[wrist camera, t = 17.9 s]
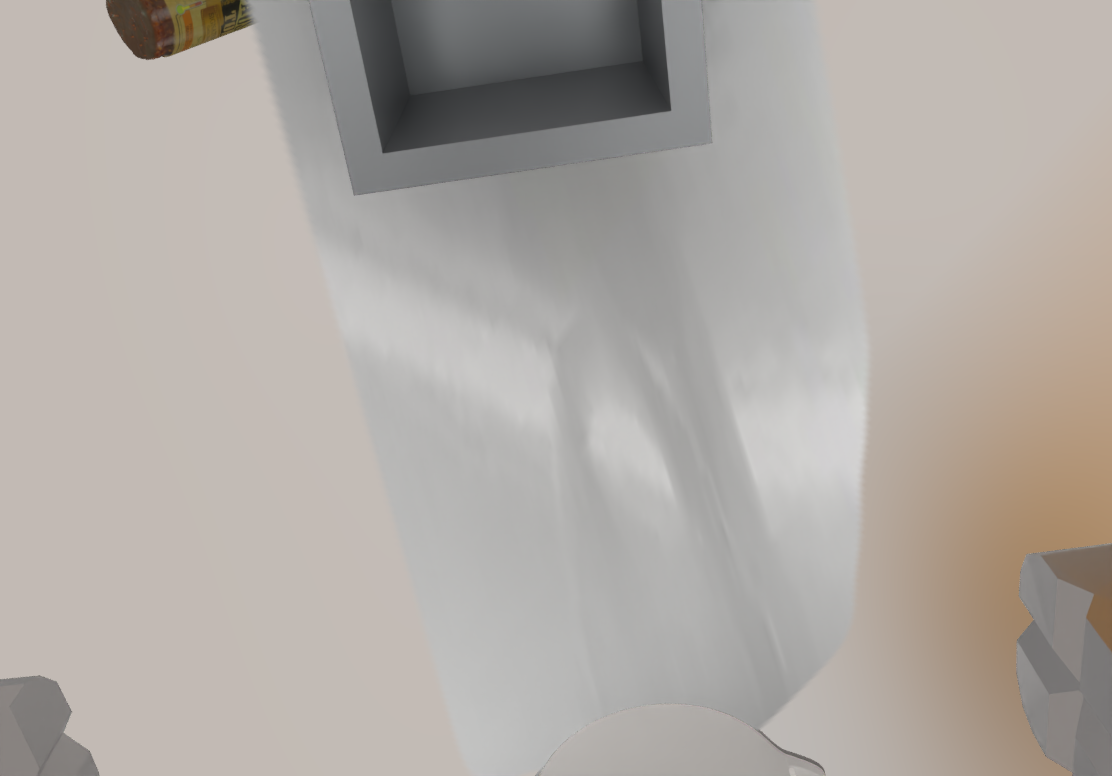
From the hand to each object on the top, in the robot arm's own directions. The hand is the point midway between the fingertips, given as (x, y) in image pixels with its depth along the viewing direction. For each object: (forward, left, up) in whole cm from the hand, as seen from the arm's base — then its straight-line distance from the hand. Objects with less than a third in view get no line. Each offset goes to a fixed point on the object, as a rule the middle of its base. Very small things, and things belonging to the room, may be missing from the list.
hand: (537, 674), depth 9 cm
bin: (+3, 0, -37) cm, 37 cm away
